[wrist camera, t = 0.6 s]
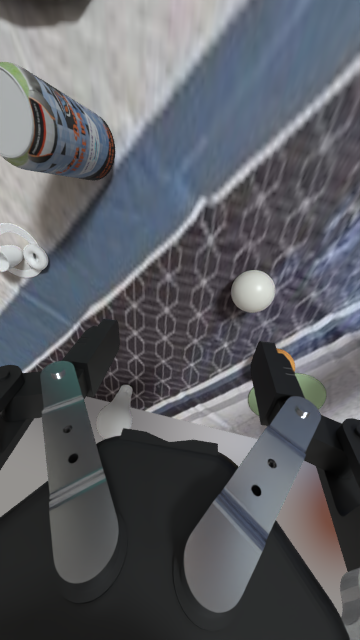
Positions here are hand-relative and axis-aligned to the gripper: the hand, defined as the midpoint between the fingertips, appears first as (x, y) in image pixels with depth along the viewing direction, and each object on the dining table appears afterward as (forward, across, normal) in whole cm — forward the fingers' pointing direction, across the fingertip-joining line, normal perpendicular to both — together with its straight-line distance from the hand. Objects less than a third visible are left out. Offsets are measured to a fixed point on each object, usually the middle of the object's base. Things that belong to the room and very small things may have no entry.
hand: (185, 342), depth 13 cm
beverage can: (+20, +14, -10) cm, 27 cm away
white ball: (+18, -8, +4) cm, 20 cm away
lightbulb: (+20, +11, +30) cm, 38 cm away
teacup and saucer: (+21, +25, +7) cm, 33 cm away
